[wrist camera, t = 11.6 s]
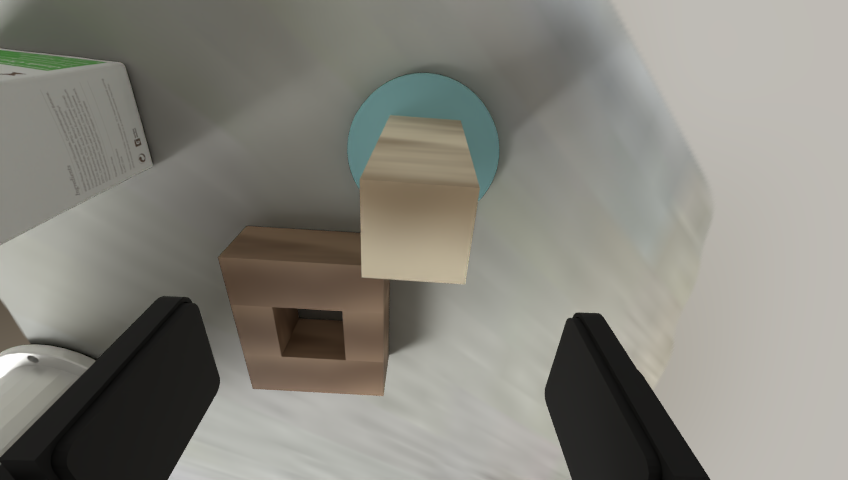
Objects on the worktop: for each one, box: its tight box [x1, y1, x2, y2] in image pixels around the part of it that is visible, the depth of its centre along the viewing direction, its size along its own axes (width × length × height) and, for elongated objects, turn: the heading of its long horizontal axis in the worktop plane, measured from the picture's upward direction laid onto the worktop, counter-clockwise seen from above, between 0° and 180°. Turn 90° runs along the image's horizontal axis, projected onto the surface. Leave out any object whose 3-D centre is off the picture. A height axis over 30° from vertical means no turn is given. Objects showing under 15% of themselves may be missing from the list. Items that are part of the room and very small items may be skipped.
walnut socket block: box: [218, 226, 390, 396], centre depth 27 cm, size 12×10×4 cm
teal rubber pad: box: [347, 73, 499, 201], centre depth 23 cm, size 9×9×1 cm
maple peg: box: [360, 115, 480, 284], centre depth 18 cm, size 4×4×10 cm
